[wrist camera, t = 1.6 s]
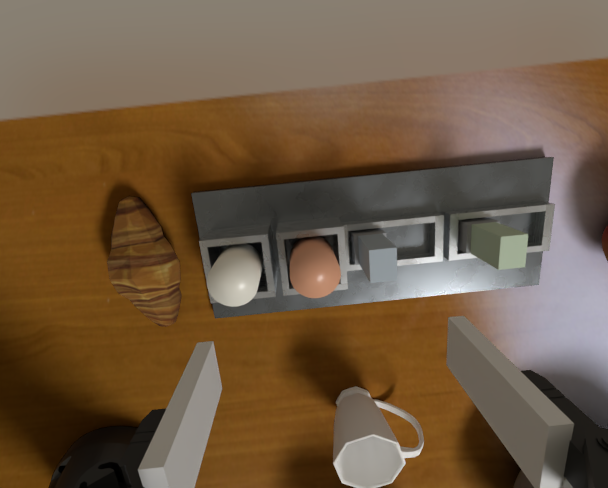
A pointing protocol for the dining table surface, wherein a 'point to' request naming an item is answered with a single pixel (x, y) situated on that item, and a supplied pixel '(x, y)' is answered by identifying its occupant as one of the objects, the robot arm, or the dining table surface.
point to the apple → (605, 242)
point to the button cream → (235, 275)
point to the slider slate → (374, 254)
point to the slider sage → (493, 242)
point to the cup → (368, 441)
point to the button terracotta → (314, 267)
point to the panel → (388, 216)
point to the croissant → (144, 263)
